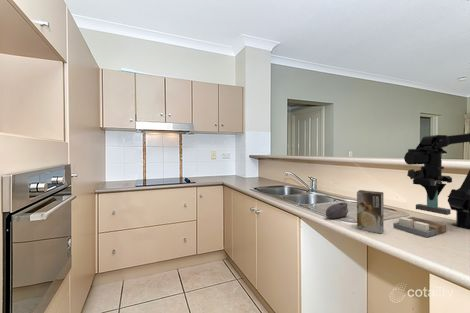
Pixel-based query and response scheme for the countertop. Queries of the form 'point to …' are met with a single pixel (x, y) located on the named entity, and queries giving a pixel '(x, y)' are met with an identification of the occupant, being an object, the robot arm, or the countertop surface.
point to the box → (414, 230)
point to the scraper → (433, 206)
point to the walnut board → (432, 225)
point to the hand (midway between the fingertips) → (432, 199)
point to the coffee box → (370, 211)
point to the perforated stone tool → (337, 210)
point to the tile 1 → (406, 222)
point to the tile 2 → (421, 226)
